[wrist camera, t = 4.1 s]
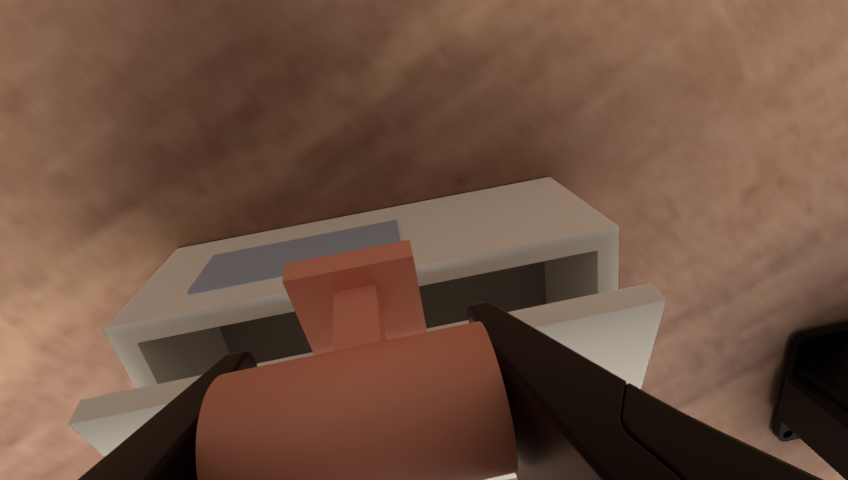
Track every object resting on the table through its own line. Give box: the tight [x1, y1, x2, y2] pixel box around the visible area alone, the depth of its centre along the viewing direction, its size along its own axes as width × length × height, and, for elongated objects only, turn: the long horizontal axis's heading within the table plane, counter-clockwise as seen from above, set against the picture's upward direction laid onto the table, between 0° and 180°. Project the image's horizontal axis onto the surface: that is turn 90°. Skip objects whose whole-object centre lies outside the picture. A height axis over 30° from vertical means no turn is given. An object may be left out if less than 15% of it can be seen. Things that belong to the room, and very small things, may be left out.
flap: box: [68, 240, 666, 480], centre depth 10 cm, size 13×10×4 cm
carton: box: [103, 177, 619, 389], centre depth 16 cm, size 14×8×5 cm, turn 99°
